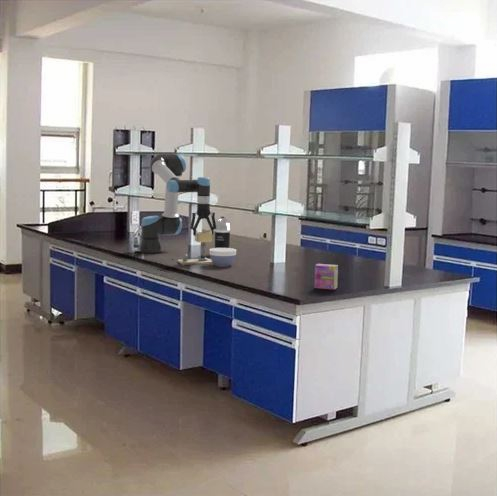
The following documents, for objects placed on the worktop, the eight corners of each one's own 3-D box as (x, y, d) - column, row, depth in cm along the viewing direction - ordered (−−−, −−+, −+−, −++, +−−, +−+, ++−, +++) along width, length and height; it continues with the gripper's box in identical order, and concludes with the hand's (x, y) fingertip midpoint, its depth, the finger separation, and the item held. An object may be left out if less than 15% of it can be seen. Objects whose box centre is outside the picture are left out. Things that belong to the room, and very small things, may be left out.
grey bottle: (227, 256, 456) (228, 217, 453) (212, 255, 458) (212, 216, 455) (231, 254, 466) (232, 216, 463) (216, 253, 468) (216, 215, 465)
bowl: (231, 268, 410) (231, 252, 408) (205, 266, 414) (205, 250, 413) (239, 264, 425) (239, 248, 424) (214, 262, 429) (214, 247, 428)
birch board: (177, 261, 431) (177, 259, 430) (209, 260, 437) (209, 258, 437) (183, 264, 419) (183, 262, 419) (215, 263, 426) (215, 261, 426)
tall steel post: (197, 259, 431) (197, 240, 430) (205, 259, 433) (206, 240, 431) (200, 261, 426) (200, 241, 425) (208, 260, 428) (208, 241, 426)
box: (314, 288, 357) (314, 264, 355) (317, 286, 362) (318, 263, 360) (334, 290, 352) (334, 266, 351) (337, 288, 358) (338, 264, 356)
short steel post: (182, 260, 427) (182, 254, 426) (187, 260, 428) (187, 254, 427) (183, 261, 424) (183, 254, 423) (188, 261, 425) (188, 254, 424)
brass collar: (194, 240, 430) (194, 232, 430) (207, 240, 433) (207, 232, 433) (198, 242, 422) (198, 233, 422) (212, 241, 425) (212, 233, 425)
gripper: (188, 203, 418) (187, 242, 421) (222, 203, 425) (221, 241, 428) (184, 202, 425) (184, 240, 428) (218, 202, 432) (218, 239, 435)
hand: (203, 240), depth 428 cm, fingers closed on brass collar, 8 cm apart
